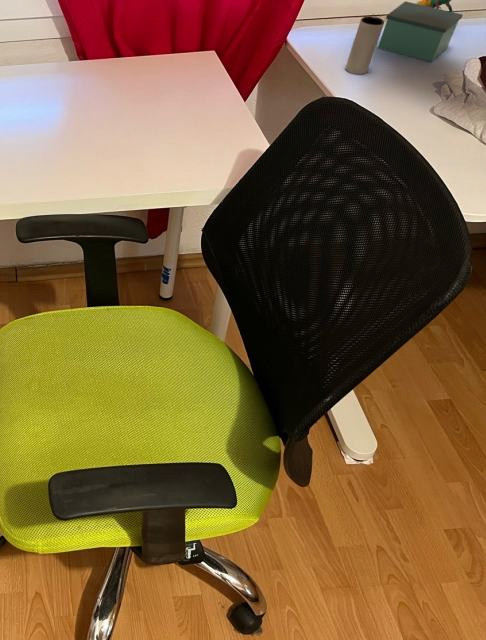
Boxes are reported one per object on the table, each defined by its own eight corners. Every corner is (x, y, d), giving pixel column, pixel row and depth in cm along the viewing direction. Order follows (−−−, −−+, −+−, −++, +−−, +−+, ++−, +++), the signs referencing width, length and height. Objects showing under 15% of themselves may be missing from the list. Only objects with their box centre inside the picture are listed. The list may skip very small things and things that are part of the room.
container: (449, 47, 155) (463, 14, 149) (432, 63, 149) (446, 29, 144) (393, 33, 160) (405, 1, 155) (375, 47, 155) (386, 14, 150)
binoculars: (434, 31, 166) (425, -11, 163) (477, 17, 159) (469, -27, 156) (422, 43, 161) (412, 1, 158) (466, 29, 154) (457, -15, 151)
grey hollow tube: (342, 71, 147) (358, 21, 140) (348, 63, 150) (364, 14, 142) (364, 76, 145) (381, 26, 138) (369, 68, 148) (387, 19, 140)
